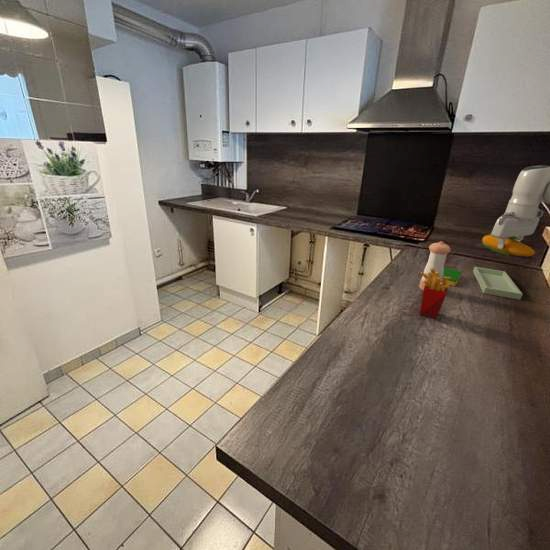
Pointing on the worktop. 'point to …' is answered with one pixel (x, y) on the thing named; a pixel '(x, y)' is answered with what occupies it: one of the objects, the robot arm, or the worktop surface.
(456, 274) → the dish sponge
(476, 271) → the tray
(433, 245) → the pepper shaker
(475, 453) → the worktop surface
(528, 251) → the corn
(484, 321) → the worktop surface
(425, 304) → the french fries
